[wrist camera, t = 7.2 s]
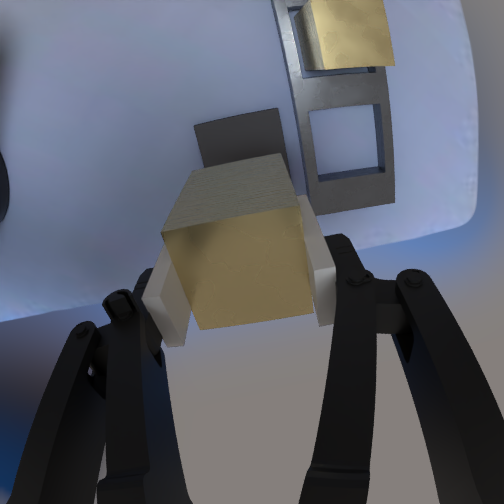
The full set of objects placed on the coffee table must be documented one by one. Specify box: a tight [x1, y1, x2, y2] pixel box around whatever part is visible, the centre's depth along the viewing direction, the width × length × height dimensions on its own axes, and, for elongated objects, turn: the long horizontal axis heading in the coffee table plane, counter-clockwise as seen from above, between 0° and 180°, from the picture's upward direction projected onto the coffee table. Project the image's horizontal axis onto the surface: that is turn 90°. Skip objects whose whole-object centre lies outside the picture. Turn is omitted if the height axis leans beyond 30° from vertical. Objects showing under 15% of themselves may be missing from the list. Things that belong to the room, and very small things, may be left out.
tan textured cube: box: [161, 153, 314, 330], centre depth 17 cm, size 6×6×8 cm
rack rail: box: [271, 0, 395, 216], centre depth 26 cm, size 9×24×2 cm, turn 11°
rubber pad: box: [194, 108, 291, 179], centre depth 30 cm, size 8×8×1 cm
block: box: [294, 0, 395, 70], centre depth 21 cm, size 6×6×8 cm
